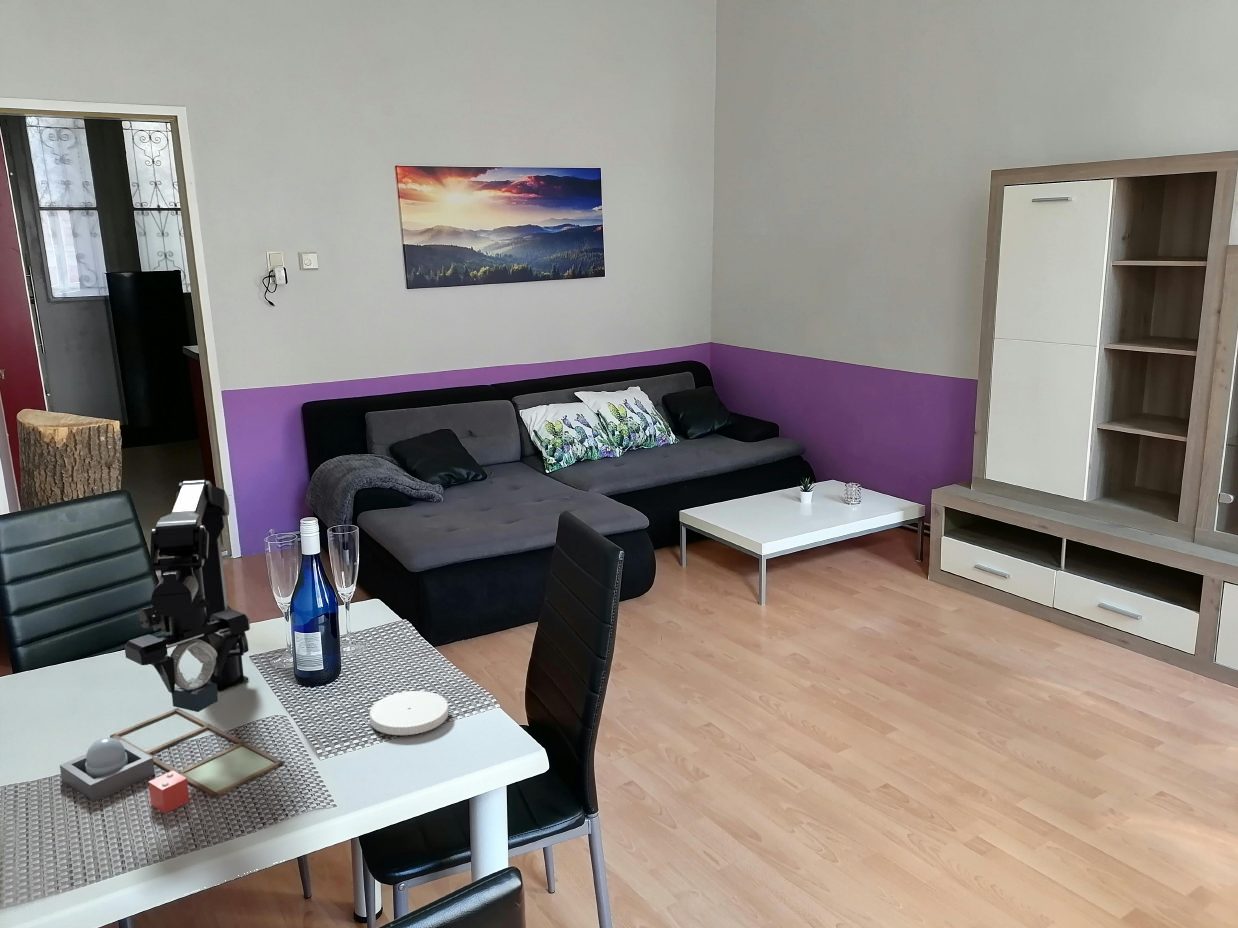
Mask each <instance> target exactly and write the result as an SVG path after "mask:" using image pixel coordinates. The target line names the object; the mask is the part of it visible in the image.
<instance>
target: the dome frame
mask: <svg viewBox="0 0 1238 928" xmlns="http://www.w3.org/2000/svg"><path fill="white" fill-rule="evenodd" d="M119 741H120V742H121V743H122V744H123V746H124V748H125V752H126V753H127V759H128V765H126V766H124V767H121V768H119V769H117V770H115V771H112V772H110V773H108V774H105V775H103V776H101V777H99V778H96V779H93V778H92V777H90V776H88V775H87V773H86V766H85V763H86V754H87V753H86V754H84V755H81V756H78V757H76V758H74V759H72V760H71V759H70V760H68V761H66V762H63V763H62V764H59V769H60V776H61V781H62V783H63V784H65V785H66V786H67V787H69V788H70V789H72V790H74V792H76V793H78V792H79V793H80V795H81V794H82V795H83V796H82V795H81V796H82V797H84V798H85V797H86V798H85V799H86V800H88V799H89V800H88V801H90V802H91V801H92V802H91V803H94V801H95V802H96V800H97V801H99V800H101V798H102V799H104V798H106V797H108V796H110V795H112V793H113V794H115V793H117V792H119V791H122V790H124V789H125V788H127V787H129V786H133V785H134V784H136V783H139V782H140V781H144V780H146V779H147V778H150V777H152V776H154V775H156V773H155V772H156V771H155V765H154V763H153V757H151V756H149V755H147V754H146V753H144V752H142V751H141V750H139V749H137V748H135V747H134V746H132V745H130V744H128V743H127V742H125V741H123V740H122V739H121V740H119ZM114 792H115V793H114ZM79 793H78V794H79Z"/></svg>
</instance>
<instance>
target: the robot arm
mask: <svg viewBox="0 0 1238 928" xmlns="http://www.w3.org/2000/svg"><path fill="white" fill-rule="evenodd" d="M229 515H230V500H229V497H228V495H227V492H226V490H225V489H223V488H221V487H219V486H218V487H217V486H215V485H213V484H212V483H211V481H210V480H206V479H197V480H196V479H195V480H193V479H191V480H183V482H181V481H180V482H179V483H178V490H177V492H176V493H175V502H174V505H173V509H172V511H171V513H169V514H166V515H165V516H161V517H160V519H159V520H158V521H157V522H156V524H155V527H154V528H152V530H151V533H150V548H149V549H150V554H149V555H150V556H149V571H151V572H154V571H160V579H159V582H158V583H157V585H156V586H155V588H154V590H153V592H152V593H151V598H150V599H151V600H150V602H151V605H152V606H150V607H145V608H141V609H138V610H139V612H138V615H139V621H140V625H141V627H142V628H143V629H147V628H151V627H152V628H153V631H154V632H155V631H158V630H161V632H163V633H165V634H166V633H169V634H168V635H166V636H163V637H160V638H159V637H156V636H154V635H152V634H144V635H141V636H139V637H136V638H133V639H129V640H128V641H127V643H126V644H125V647H124V653H125V654H124V655H125V658H126V659H128V660H130V661H132V662H135V663H136V664H137V665H138V664H139V665H141V666H149V665H150V666H153V668H154V669H155V671H157V673H158V675H159V677H160V679H161V680H162V682H163V684H164V686H165V687H166V689H167V691H168V692H169V693H170V694H172V693H174V691H175V687H176V684H175V675H174V658H172V657H170V656H171V655H168V649H170V648H173V647H174V648H175V647H176V646H177V645H180V644H183V643H186V642H189V641H192V640H195V639H199V640H202V641H204V642H206V643H208V644H209V645H210V646H212V647H213V648H214V649H215V651H216V652H217V657H216V665H215V666H214V670H213V673H212V674H210V675H211V677H210V678H209V680H208V681H207V682H210V683H215V684H217V692H224V691H225V690H229V689H230V688H231V689H232V688H233V687H236V686H238V685H241V684H243V683H245V682H247V681H249V677H248V676H247V675H244V668H243V667H244V666H243V656H245V655H244V654H246V653H247V652H249V651H250V649H249V642H248V638H247V634H246V632H248V631H250V630H251V626H250V625H251V624H250V618H249V617H248V615H247V614H246V613H243V612H240V611H237V610H235V609H232V607H231V606H230V605H229V604H228V598H227V597H228V596H227V589H226V588H227V587H226V580H225V571H224V563H223V561H224V560H223V552H222V542H221V536H220V535H221V534H222V532H223V531H224V528H225V525H226V522H227V520H228V516H229ZM158 557H159V558H158ZM168 557H169V558H168ZM205 670H206V669H205Z"/></svg>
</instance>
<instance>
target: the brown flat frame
mask: <svg viewBox="0 0 1238 928" xmlns="http://www.w3.org/2000/svg"><path fill="white" fill-rule="evenodd" d="M174 714H179V715H180V716H182V717H184V718H185V719H187V720H189V721H191V722H194V723H195V724H197V725H199V726H201V727H199V728H197V729H195V730H192V731H190V732H189V733H185V734H183V735H182V736H179V737H177V738H173V739H172V740H169V741H167V742H165V743H163V744H160V745H158V746H156V747H154V748H151V749H148V750H146V751H145V750H143V749H142V748H140V747H139V746H137V745H135V744H133V743H131V742H130V741H129V740H126V739H124V738H123V737H121V736H123V735H126V734H128V733H131V732H133V731H135V730H138V729H140V728H142V727H144V726H147V725H150V724H152V723H155V722H157V721H160V720H163V719H164V718H167V717H169V716H171V715H174ZM207 730H210V731H211V732H213V733H214V734H217V735H219V736H221V737H223V738H224V739H227V740H228V741H230V742H232V743H234V744H235V745H233V746H231V747H229V748H227V749H224V750H222V751H220V752H218V753H216V754H213V755H211V756H210V757H207V758H204V759H203V760H200V761H198V762H197V763H195V764H192V765H190V766H187V767H185V768H184V769H181V770H179V769H176V768H175V767H173V766H171V765H169V763H166V762H164V761H163V760H161V759H159V758H157V757H156V756H154V755H153V754H154V753H157V752H159V751H162V750H164V749H166V748H168V747H170V746H173V745H175V744H178V743H181V742H183V741H184V740H187V739H189V738H192V737H194V736H195V735H198V734H200V733H203V732H205V731H207ZM109 738H114V739H117V740H121V739H122V740H123V741H125V742H127V743H128V744H130V745H132V746H134V747H135V748H137V749H139V750H141V751H142V752H144V753H146V754H147V755H149V756H151V757H153V763H154V764H155V765H156V766H158V767H159V768H161V767H162V768H161V769H163V770H165V771H166V772H167V773H168V772H170V771H175V772H177V773H179V774H180V775H182V776H184V777H185V778H187V782H188V785H190V786H192V787H193V788H195V789H198V790H199V791H201V792H203V793H204V794H205V795H207V796H209V797H211V798H213V799H216V798H219V797H220V796H222V795H224V794H226V793H228V792H230V791H232V790H235V789H236V788H238V787H240V786H242V785H244V784H246V783H248V782H250V781H252V780H254V779H256V778H258V777H260V776H262V775H264V774H266V773H268V772H271V770H274V769H276V768H278V767H280V766H281V765H283V764H284V761H283V760H281V759H279V758H278V757H276V756H273V755H271V754H270V753H267V751H266V752H265V751H263V750H262V749H259V748H257V747H256V746H253V745H252V744H249V743H248V742H246V741H244V740H242V739H240V738H238V737H237V736H235V735H232V734H230V733H228V732H226V731H224V730H222V729H220V728H218V727H217V726H215V725H212V724H210V723H208V722H207V721H205V720H203V719H200V718H198V717H196V716H194V715H193V714H190V713H188V712H187V711H185V710H184V709H182V708H178V707H175V708H174V709H172V710H168V711H166V712H164V713H162V714H159V715H157V716H154V717H151V718H149V719H148V720H145V721H142V722H140V723H137V724H135V725H132V726H130V727H126V728H125V729H123V730H120V731H117V732H114V733H113V734H110V735H109Z"/></svg>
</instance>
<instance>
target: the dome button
mask: <svg viewBox="0 0 1238 928" xmlns="http://www.w3.org/2000/svg"><path fill="white" fill-rule="evenodd" d="M126 765H128V759H127V753H126V752H125V748H124V746H123V744H122V743H121V742H120V741H119V740H117V739H114V738H110V737H103V738H99V739H98V740H96V741H94V742H93V743H92V744H91V745H90V746H89V747H88V749H87V751H86V763H85V766H86V773H87V775H88V776H90V777H92V778H93V779H96V778H99V777H101V776H103V775H105V774H108V773H110V772H112V771H115V770H117V769H119V768H121V767H124V766H126Z"/></svg>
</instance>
